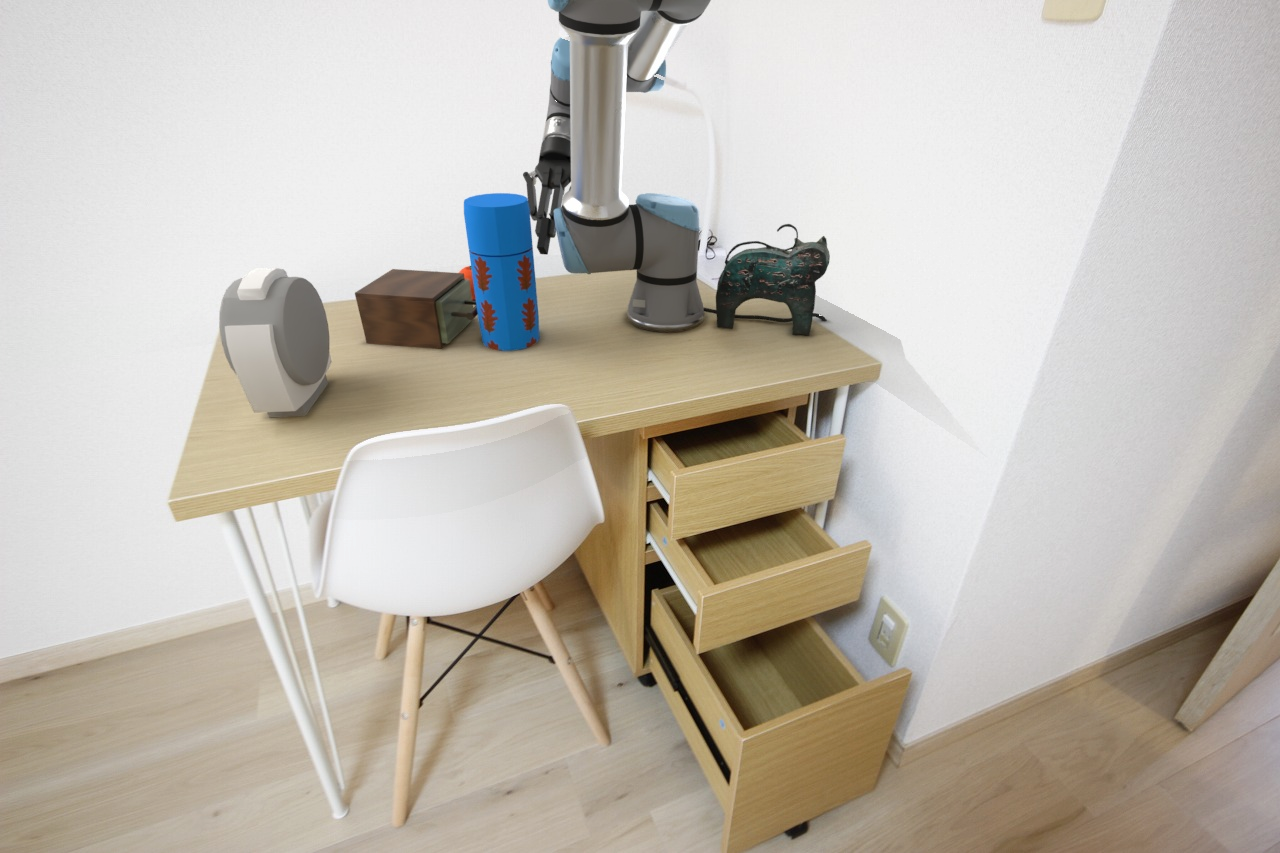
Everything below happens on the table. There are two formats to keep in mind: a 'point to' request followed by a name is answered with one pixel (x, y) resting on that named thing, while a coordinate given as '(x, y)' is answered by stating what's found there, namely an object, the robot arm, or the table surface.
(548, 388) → the table surface
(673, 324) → the robot arm
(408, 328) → the cabinet
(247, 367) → the alarm clock
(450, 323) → the drawer
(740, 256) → the ceramic cat
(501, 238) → the thermos
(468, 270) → the clementine
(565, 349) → the table surface
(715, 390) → the table surface
